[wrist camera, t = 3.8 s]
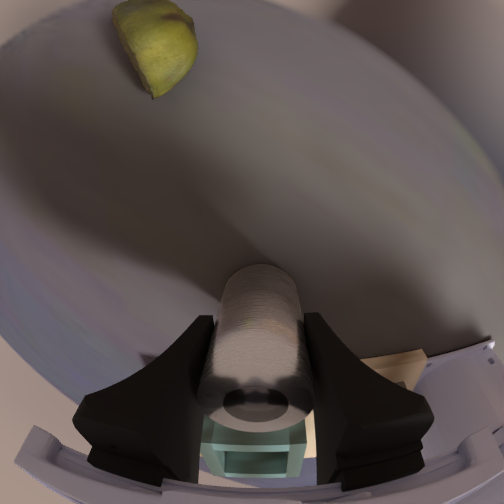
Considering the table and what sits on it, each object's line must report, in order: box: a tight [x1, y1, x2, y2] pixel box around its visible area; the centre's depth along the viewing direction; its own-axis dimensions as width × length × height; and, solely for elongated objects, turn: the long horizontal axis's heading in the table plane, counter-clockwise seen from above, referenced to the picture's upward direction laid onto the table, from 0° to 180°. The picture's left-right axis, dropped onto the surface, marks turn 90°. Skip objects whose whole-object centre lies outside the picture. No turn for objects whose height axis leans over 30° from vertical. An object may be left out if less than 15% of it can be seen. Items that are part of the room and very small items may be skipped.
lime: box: [112, 0, 198, 99], centre depth 8 cm, size 4×5×5 cm
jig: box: [200, 349, 428, 478], centre depth 18 cm, size 20×14×4 cm
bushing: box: [197, 264, 316, 432], centre depth 11 cm, size 4×4×7 cm
